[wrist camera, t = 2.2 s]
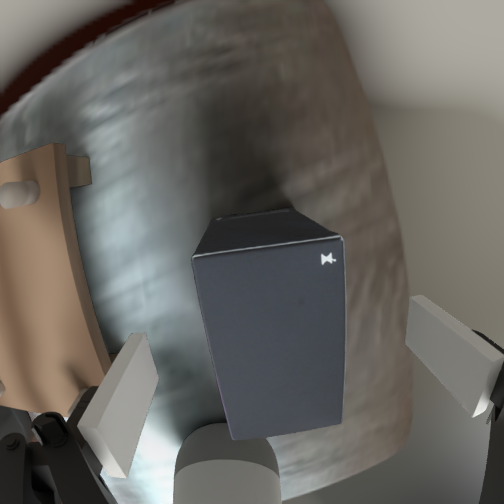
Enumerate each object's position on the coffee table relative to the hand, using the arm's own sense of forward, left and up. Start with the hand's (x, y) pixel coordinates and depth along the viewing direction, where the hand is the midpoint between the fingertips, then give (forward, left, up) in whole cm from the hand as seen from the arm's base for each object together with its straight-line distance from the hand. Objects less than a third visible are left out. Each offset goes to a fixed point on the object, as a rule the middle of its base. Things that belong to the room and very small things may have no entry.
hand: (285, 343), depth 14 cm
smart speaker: (-5, -17, -9) cm, 20 cm away
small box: (0, 0, -9) cm, 9 cm away
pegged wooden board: (-18, +2, -9) cm, 21 cm away
